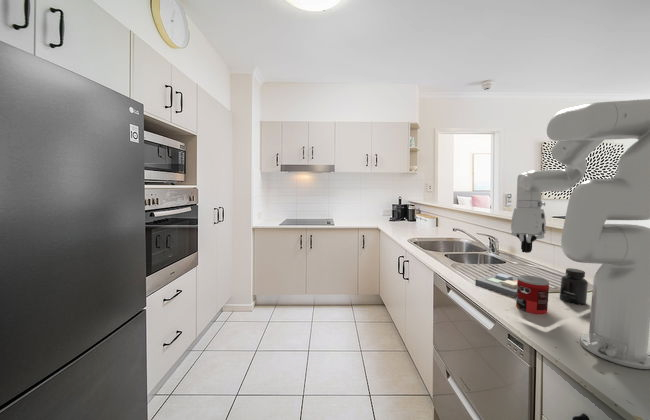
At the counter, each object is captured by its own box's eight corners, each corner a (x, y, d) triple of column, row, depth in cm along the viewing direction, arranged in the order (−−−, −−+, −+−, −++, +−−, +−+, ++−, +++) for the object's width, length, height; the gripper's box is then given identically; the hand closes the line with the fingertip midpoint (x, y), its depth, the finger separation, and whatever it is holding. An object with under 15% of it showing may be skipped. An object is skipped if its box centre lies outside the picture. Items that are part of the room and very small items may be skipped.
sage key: (496, 287, 103) (497, 282, 103) (486, 284, 107) (486, 279, 107) (503, 285, 105) (503, 281, 105) (492, 282, 109) (492, 277, 109)
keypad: (514, 300, 94) (515, 292, 94) (475, 286, 108) (475, 279, 108) (540, 292, 102) (540, 284, 102) (500, 280, 115) (500, 273, 115)
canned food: (514, 304, 91) (516, 273, 90) (543, 309, 87) (546, 277, 86) (517, 313, 84) (519, 280, 83) (549, 319, 80) (552, 285, 79)
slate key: (506, 282, 106) (506, 277, 106) (495, 279, 110) (495, 274, 109) (512, 281, 108) (512, 276, 107) (501, 277, 111) (501, 273, 111)
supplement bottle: (562, 305, 90) (565, 271, 89) (556, 298, 96) (558, 266, 95) (589, 309, 87) (592, 274, 86) (581, 301, 93) (584, 268, 92)
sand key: (513, 290, 98) (513, 285, 98) (501, 286, 102) (501, 281, 101) (520, 288, 100) (520, 283, 99) (508, 284, 103) (508, 279, 103)
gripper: (557, 205, 96) (554, 255, 97) (512, 204, 109) (511, 247, 110) (546, 205, 92) (544, 257, 93) (502, 204, 106) (500, 249, 107)
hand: (526, 252), depth 102 cm, fingers closed
